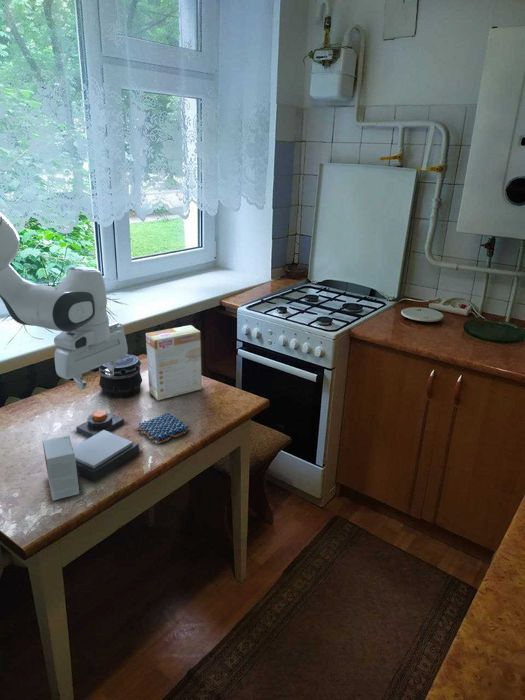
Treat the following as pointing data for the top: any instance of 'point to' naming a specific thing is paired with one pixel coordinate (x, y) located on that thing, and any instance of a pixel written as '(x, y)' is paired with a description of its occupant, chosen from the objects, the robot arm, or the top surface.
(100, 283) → the robot arm
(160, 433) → the woven mat
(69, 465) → the small box
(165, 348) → the coffeecake box
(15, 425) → the top surface
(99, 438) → the scale
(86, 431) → the dark grey button base
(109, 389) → the container
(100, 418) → the tare button
